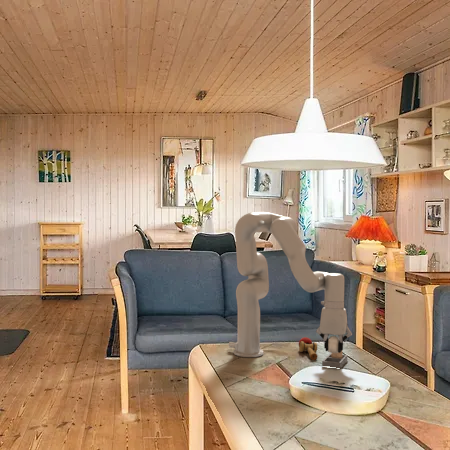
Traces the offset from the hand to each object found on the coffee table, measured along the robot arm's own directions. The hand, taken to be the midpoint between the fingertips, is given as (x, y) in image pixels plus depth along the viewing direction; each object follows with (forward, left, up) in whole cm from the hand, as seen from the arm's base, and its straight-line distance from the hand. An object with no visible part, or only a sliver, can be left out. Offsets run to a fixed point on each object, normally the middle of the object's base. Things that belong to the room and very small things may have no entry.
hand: (333, 350), depth 239 cm
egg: (0, 0, 0) cm, 0 cm away
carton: (0, +3, -6) cm, 7 cm away
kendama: (-14, +14, -7) cm, 20 cm away
